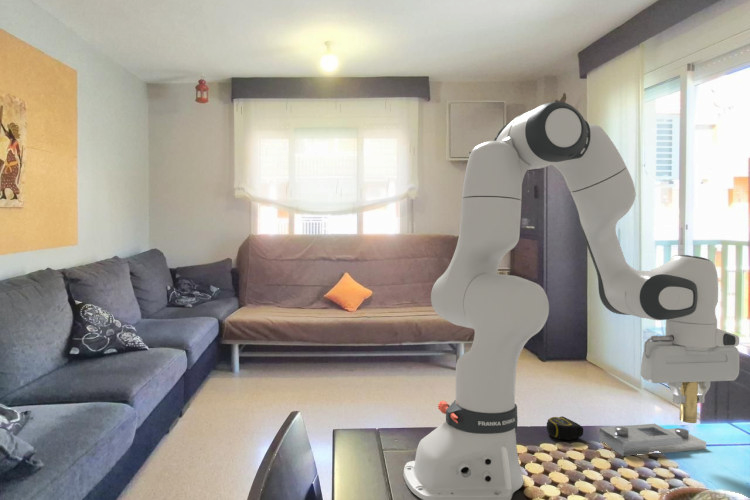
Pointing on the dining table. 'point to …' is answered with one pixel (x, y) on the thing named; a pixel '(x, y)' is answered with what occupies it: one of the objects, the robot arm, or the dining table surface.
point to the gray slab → (649, 439)
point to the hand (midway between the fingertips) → (688, 402)
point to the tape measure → (564, 428)
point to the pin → (689, 402)
